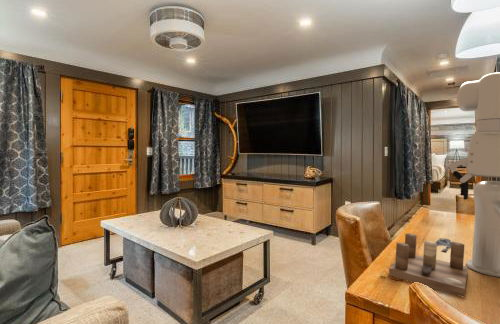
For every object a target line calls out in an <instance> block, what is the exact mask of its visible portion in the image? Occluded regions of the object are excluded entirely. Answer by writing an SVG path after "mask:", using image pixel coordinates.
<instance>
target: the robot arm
mask: <svg viewBox="0 0 500 324" xmlns="http://www.w3.org/2000/svg"><path fill="white" fill-rule="evenodd" d="M456 95H457V96H456V103H457V106H458V108H459V109H460V110H461V111H463V112H474V118H475V121H476V122H475V123H476V126H475V133H473V134H471V136H470V139H469V143H468V144H469V145H468V150H467V156H466V157H464V158H462V159H459V160H456V161H454V162H451V163H449V164H448V168H449V169H450V171H451V173H452V175H453V177H455V178H456V179H457V180H458V181H459V182H460V194H459V195H460V196H463V200H468V199H469V185H470V182H468V181H469V180H471V178H473V176H475V177H482V178H483V177H487V178H499V179H500V72H499V71H498V72H493V73H488V74H485V75H483V76H482V77H481V78H480V79H478V80H472V81H465V82H464V83H462V84H461V86H459V88H458V92H457V94H456ZM465 164H466V167H465V168H466V170H465V171H466V173H465V174H464V175H463V174H462V173H461V172H459V170H458V167H460V166H462V165H465ZM473 200H474V201H473V202H474V222H473V223H474V224H473V225H474V226H473V227H474V228H473V241H472V252H471V253H472V254H471V259H468V260H466V264H465V266H467V267H468V268H469V269H471V270H472V271H474V272H475V271H476V272H477V273H479V274H484V275H486V276H487V275H488V276H490V277H491V276H492V277H497V278H500V180H499V181H497V180H483V181H479V182H477V183H476V184H475V185H474V187H473Z"/></svg>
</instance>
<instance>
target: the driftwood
mask: <svg viewBox="0 0 500 324" xmlns="http://www.w3.org/2000/svg"><path fill="white" fill-rule="evenodd" d="M434 242H435V243H437V247H439V246H440V247H442V246H443V247H445V248H442V249H441V251H442V252H448V250H450V249H451V242H452V240H451V239H449V238H444V237H443V238H442V237H439V238H438V240H436V241H434Z"/></svg>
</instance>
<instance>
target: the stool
mask: <svg viewBox="0 0 500 324" xmlns="http://www.w3.org/2000/svg"><path fill="white" fill-rule="evenodd" d="M417 236H418V235H416V234H413V233H407V232H406V233H405V236H404V238H405V239H404V242H396V247H395V249H396V250H395V251H396V252H395V260H394V262H393V263H392V265H390V267H389V268H388V276H389V277H392V276H393V277H392V278H395V277H396V279H399V278H400V279H399V280H402V279H404V280H403V281H406V280H408V281H407V282H409V281H412V282H411V283H413V282H419V283H422V284H424V285H427V286H429V287H428V288H430V287H431V288H430V289H434V290H438V291H441V292H444V293H448V294H452V295H455V294H456V295H455V296H458V295H460V296H459V297H462V296H464V297H465V296H466V288H465V287H466V286H467V279H468V268H469V267H468V266H467V265H464V259H465V257H464V256H465V244H464V243H461V242H457V241H451V248H450V257H449V260H450V261H449V262H448V261H444V260H440V259H436V268H432V270H431V272H430V275H426V274H423V273H422V268H423V267H424V266H423V256H422V255H418V254H417V253H416V252H417V238H418V237H417ZM427 286H426V287H427Z"/></svg>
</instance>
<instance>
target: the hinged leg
mask: <svg viewBox="0 0 500 324" xmlns="http://www.w3.org/2000/svg"><path fill="white" fill-rule="evenodd" d="M435 242H436V241H431V240H425V241H423V266H424V267H423V268H422V273H423V274H426V275H430V272H431V270H432V268H436V260H437V251H438V250H437V249H438V246H437V243H435Z"/></svg>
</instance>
